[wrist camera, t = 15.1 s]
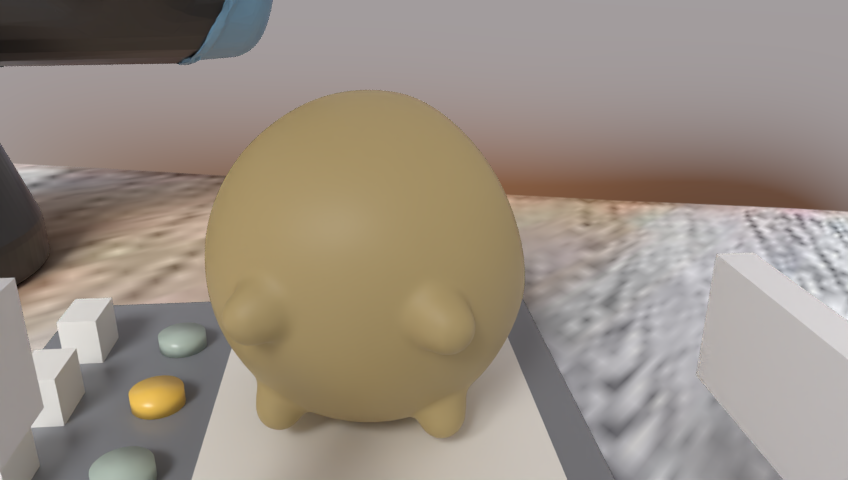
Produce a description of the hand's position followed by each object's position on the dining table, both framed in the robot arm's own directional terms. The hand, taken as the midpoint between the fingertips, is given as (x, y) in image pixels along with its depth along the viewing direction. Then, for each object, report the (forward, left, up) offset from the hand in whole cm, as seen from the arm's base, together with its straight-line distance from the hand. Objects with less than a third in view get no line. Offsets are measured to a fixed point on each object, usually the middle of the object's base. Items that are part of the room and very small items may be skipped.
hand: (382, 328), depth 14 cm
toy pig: (-10, 0, -8) cm, 12 cm away
